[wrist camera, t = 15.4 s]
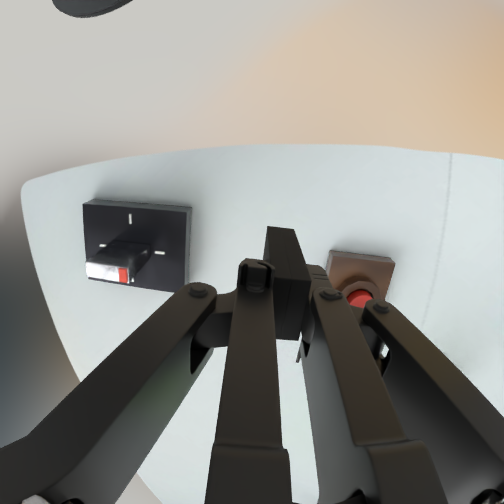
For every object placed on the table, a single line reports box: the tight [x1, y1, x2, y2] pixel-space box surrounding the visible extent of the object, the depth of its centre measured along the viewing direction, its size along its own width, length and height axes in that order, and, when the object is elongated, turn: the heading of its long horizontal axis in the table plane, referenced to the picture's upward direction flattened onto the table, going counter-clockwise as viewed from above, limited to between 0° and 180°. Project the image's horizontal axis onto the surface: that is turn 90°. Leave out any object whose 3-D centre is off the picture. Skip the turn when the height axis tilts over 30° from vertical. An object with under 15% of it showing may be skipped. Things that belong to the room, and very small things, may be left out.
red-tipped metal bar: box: [85, 240, 151, 283], centre depth 37 cm, size 6×2×8 cm, turn 84°
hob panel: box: [83, 200, 192, 293], centre depth 42 cm, size 12×16×3 cm
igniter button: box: [347, 290, 373, 308], centre depth 41 cm, size 4×4×2 cm
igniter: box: [326, 251, 395, 300], centre depth 44 cm, size 12×10×4 cm
